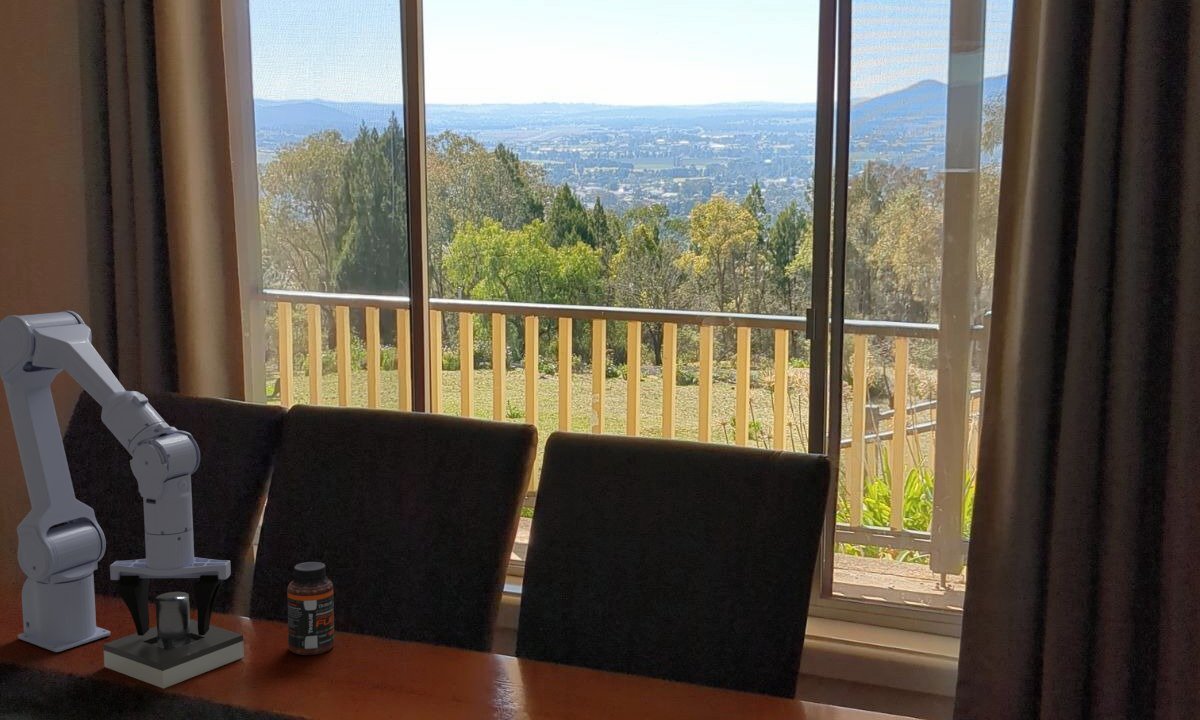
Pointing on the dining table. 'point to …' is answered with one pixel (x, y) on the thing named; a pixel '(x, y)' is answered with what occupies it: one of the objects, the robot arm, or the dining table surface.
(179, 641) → the steel peg
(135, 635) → the socket
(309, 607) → the supplement bottle
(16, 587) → the dining table surface
